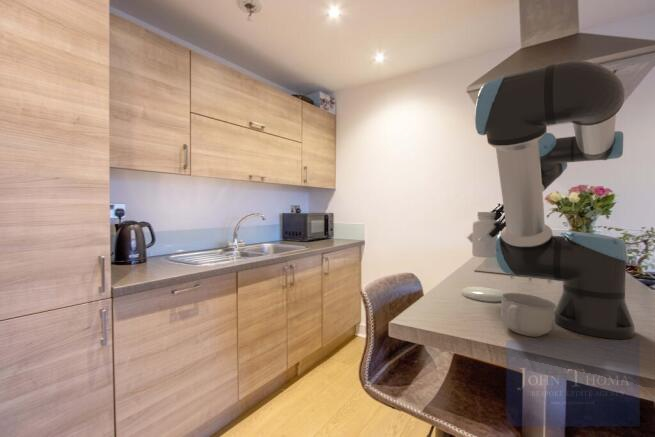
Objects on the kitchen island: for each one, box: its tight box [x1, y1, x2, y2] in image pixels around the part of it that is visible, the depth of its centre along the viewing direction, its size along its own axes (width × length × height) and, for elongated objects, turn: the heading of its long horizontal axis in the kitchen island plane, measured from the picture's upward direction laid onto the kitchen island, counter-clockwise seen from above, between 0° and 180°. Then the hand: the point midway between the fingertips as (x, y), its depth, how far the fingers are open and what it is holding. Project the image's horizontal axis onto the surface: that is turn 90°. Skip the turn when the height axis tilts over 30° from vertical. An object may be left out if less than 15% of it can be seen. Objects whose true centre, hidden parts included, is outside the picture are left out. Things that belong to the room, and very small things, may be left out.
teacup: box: [500, 292, 557, 338], centre depth 73 cm, size 14×11×8 cm
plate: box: [461, 286, 507, 303], centre depth 104 cm, size 14×14×1 cm
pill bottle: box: [471, 211, 500, 259], centre depth 103 cm, size 8×8×15 cm
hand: (475, 241), depth 103 cm, fingers closed on pill bottle, 8 cm apart
